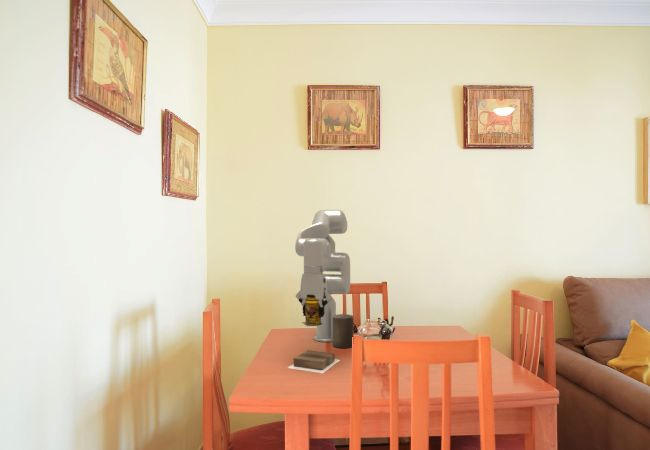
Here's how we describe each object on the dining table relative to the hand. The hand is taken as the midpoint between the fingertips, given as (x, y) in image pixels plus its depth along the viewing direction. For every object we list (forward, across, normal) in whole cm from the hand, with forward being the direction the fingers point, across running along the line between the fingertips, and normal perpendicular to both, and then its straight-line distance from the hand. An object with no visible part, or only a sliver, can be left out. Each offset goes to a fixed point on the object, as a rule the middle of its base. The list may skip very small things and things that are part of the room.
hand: (313, 315), depth 160 cm
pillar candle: (+20, 0, -31) cm, 37 cm away
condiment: (+4, 0, 0) cm, 4 cm away
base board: (+19, 0, 0) cm, 19 cm away
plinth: (+19, 0, 0) cm, 19 cm away
